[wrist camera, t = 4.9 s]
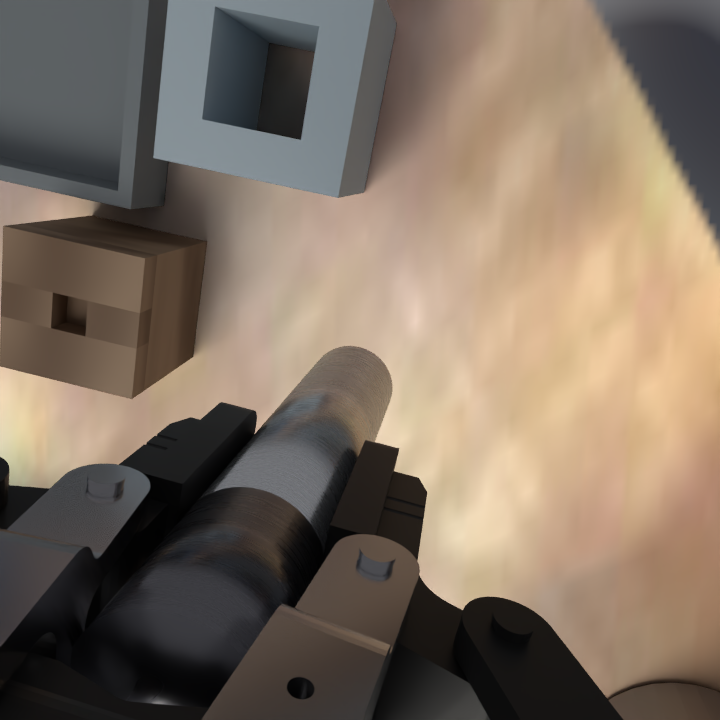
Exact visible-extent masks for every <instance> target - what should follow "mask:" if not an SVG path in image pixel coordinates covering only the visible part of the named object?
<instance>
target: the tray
mask: <svg viewBox="0 0 720 720" xmlns="http://www.w3.org/2000/svg"><path fill="white" fill-rule="evenodd" d="M167 9H168V0H0V180H2V181H6V182H11V183H15V184H20V185H24V186H29V187H33V188H38V189H42V190H47V191H51V192H56V193H60V194H65V195H69V196H74V197H78V198H82V199H87V200H91V201H96V202H100V203H105V204H109V205H114V206H118V207H123V208H127V209H138V208H147V207H156V206H164V199H165V189H166V179H167V170H168V161H165V160H161V159H156V158H153V156H154V145H155V135H156V124H157V114H158V103H159V93H160V82H161V72H162V61H163V51H164V40H165V30H166V19H167Z"/></svg>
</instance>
